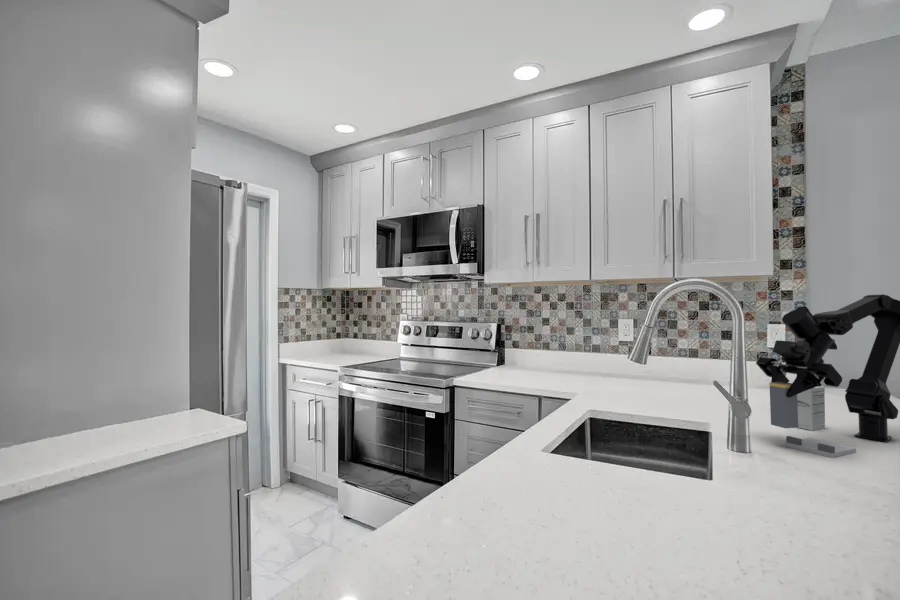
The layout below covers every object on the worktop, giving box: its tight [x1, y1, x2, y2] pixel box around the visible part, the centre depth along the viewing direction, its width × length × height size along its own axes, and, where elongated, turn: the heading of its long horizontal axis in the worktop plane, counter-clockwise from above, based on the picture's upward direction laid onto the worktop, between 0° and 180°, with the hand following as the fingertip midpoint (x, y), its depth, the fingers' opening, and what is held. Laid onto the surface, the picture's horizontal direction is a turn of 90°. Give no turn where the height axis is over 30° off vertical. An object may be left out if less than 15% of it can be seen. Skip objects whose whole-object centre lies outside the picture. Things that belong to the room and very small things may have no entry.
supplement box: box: [797, 385, 826, 432], centre depth 133 cm, size 7×7×13 cm
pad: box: [785, 435, 857, 459], centre depth 111 cm, size 10×10×2 cm
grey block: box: [768, 381, 798, 429], centre depth 114 cm, size 4×4×11 cm
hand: (779, 394), depth 113 cm, fingers closed on grey block, 4 cm apart
